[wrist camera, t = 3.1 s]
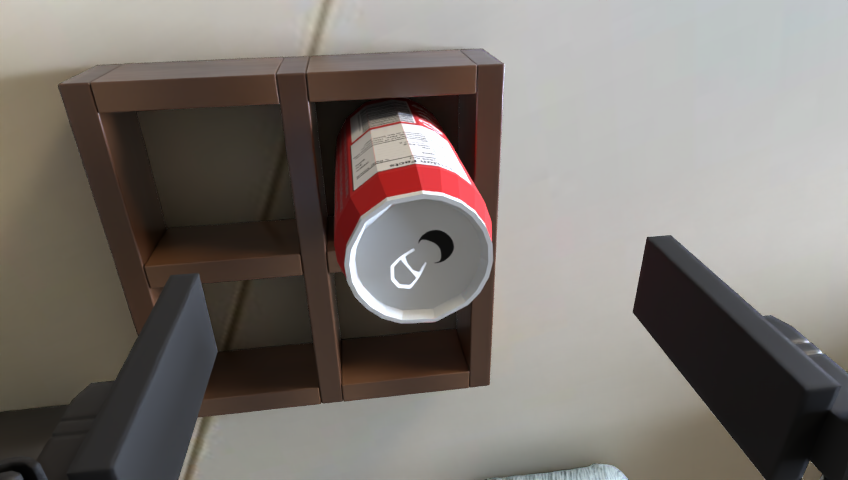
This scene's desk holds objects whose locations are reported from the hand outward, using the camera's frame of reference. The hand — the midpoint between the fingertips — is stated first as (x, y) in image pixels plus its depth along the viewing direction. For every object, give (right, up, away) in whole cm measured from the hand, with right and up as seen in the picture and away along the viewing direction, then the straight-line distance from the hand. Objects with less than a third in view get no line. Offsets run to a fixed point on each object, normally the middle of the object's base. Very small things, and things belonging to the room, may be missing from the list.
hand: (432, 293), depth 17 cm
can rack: (-6, +2, +13) cm, 15 cm away
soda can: (-2, +6, +12) cm, 14 cm away
